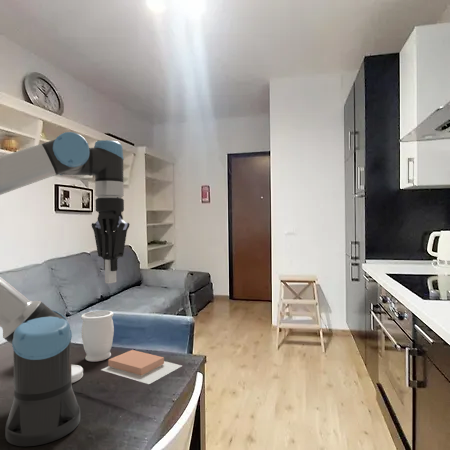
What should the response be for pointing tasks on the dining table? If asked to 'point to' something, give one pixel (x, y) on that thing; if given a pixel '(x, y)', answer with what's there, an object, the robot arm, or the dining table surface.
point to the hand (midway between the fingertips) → (110, 282)
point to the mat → (149, 376)
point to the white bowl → (76, 373)
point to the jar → (97, 335)
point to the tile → (136, 362)
